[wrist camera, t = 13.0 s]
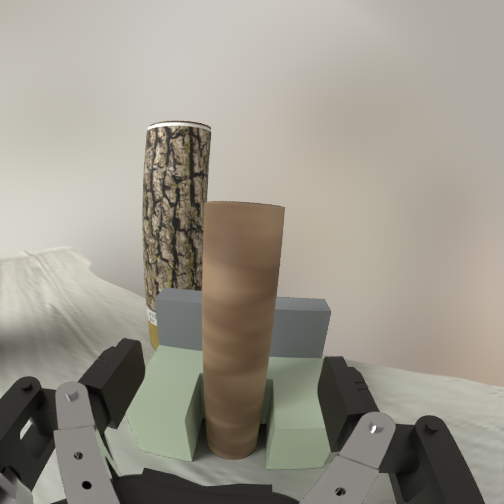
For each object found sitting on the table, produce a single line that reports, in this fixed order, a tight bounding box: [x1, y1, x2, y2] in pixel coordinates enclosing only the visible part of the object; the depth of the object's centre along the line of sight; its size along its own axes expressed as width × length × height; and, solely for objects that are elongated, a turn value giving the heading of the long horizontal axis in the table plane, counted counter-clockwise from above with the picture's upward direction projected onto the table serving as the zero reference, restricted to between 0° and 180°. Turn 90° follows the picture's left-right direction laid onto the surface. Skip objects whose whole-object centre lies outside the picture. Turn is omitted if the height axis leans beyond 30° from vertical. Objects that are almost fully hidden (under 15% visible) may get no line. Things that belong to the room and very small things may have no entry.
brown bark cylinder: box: [143, 121, 211, 350], centre depth 28 cm, size 7×7×25 cm
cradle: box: [125, 345, 331, 469], centre depth 18 cm, size 14×8×6 cm, turn 88°
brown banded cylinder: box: [202, 201, 285, 460], centre depth 16 cm, size 4×4×18 cm
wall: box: [155, 287, 331, 358], centre depth 23 cm, size 14×2×10 cm, turn 88°
